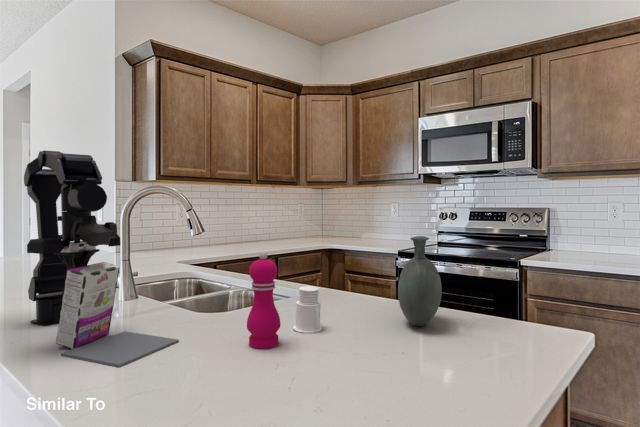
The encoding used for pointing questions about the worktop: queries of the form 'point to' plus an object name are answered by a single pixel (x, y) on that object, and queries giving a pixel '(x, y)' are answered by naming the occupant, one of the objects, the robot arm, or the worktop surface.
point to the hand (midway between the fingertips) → (78, 281)
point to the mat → (120, 348)
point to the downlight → (308, 311)
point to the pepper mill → (263, 305)
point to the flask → (419, 286)
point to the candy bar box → (87, 304)
